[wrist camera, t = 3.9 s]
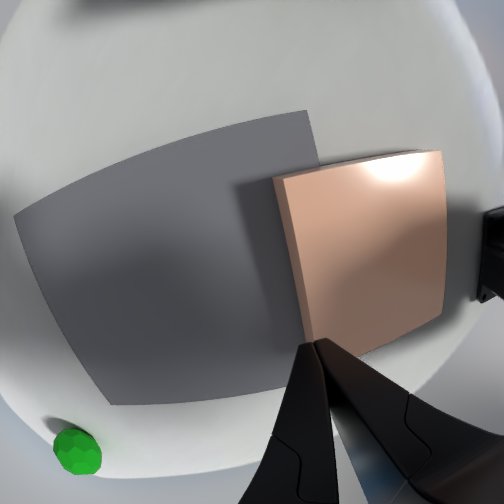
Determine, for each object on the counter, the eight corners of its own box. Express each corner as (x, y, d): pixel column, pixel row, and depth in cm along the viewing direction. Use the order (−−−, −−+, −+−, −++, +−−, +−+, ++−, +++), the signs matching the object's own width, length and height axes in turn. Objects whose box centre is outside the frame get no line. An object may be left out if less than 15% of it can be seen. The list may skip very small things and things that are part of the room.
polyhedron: (75, 415, 18) (57, 453, 13) (116, 445, 19) (104, 483, 14) (57, 423, 18) (40, 456, 14) (93, 450, 20) (81, 483, 15)
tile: (272, 177, 11) (419, 149, 11) (307, 353, 14) (425, 302, 14) (283, 179, 9) (441, 150, 10) (318, 372, 12) (441, 314, 13)
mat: (302, 112, 11) (306, 110, 10) (342, 362, 15) (346, 370, 15) (21, 212, 12) (13, 215, 11) (114, 397, 16) (110, 404, 16)
